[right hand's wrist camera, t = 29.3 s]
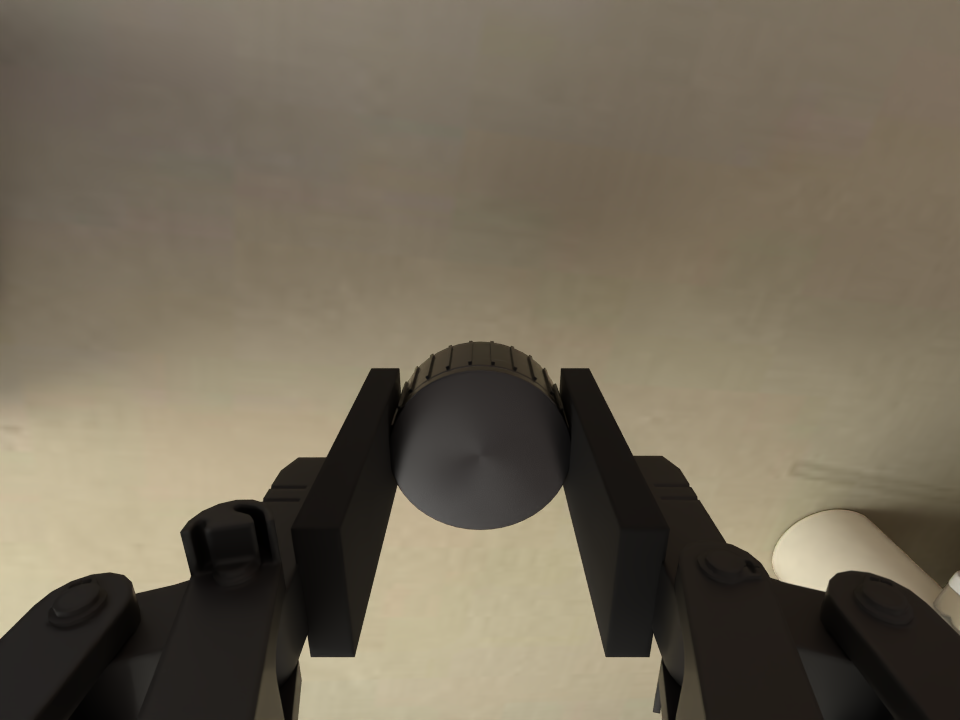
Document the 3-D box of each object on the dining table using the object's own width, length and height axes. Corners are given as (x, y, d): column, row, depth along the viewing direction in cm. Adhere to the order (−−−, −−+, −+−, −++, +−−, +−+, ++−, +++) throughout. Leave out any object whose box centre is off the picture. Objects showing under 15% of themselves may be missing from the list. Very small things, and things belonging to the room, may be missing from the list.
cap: (392, 477, 15) (379, 521, 13) (405, 328, 14) (393, 355, 12) (546, 494, 15) (555, 541, 14) (577, 350, 14) (592, 381, 12)
